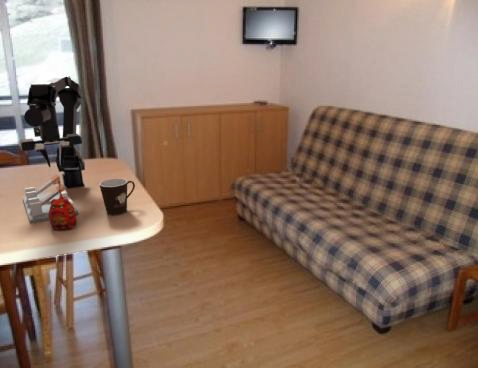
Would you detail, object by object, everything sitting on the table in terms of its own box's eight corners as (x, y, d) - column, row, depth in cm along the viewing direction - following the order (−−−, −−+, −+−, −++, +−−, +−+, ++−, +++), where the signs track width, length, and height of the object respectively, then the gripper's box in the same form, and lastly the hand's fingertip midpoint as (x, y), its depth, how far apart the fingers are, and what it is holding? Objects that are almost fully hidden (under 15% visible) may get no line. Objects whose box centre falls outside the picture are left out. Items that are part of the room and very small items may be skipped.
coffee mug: (105, 218, 126) (101, 188, 123) (100, 209, 133) (97, 180, 130) (142, 211, 131) (139, 182, 128) (135, 203, 138) (133, 175, 135)
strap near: (64, 185, 133) (62, 183, 132) (66, 188, 130) (64, 186, 130) (36, 206, 130) (33, 204, 130) (37, 210, 127) (35, 207, 127)
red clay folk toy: (47, 232, 118) (38, 183, 113) (56, 222, 124) (48, 175, 119) (73, 231, 118) (66, 182, 113) (81, 221, 125) (74, 175, 120)
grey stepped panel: (65, 192, 150) (63, 179, 148) (78, 213, 130) (76, 199, 129) (23, 199, 143) (20, 186, 141) (30, 223, 123) (27, 208, 122)
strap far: (58, 176, 143) (56, 174, 142) (60, 179, 140) (58, 176, 139) (32, 195, 140) (30, 193, 139) (33, 198, 137) (31, 196, 136)
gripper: (73, 115, 146) (79, 157, 151) (14, 120, 137) (23, 165, 142) (79, 119, 137) (85, 164, 142) (17, 125, 128) (26, 172, 133)
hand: (55, 166), depth 140 cm, fingers open, 3 cm apart
